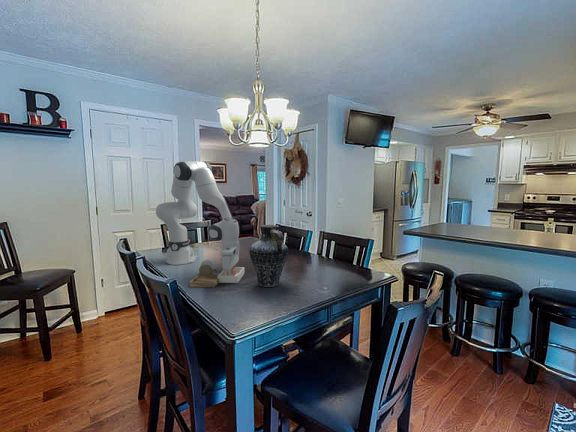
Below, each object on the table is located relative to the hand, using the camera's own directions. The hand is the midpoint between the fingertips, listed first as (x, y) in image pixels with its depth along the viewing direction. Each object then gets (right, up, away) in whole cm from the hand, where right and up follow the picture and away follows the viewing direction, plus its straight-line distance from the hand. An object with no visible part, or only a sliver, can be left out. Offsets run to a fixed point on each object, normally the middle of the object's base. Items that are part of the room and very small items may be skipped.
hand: (231, 273), depth 161 cm
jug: (+21, -4, -10) cm, 24 cm away
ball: (0, +1, 0) cm, 1 cm away
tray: (-12, -3, -8) cm, 14 cm away
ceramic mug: (-14, -2, +5) cm, 15 cm away
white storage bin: (0, -2, 0) cm, 2 cm away
